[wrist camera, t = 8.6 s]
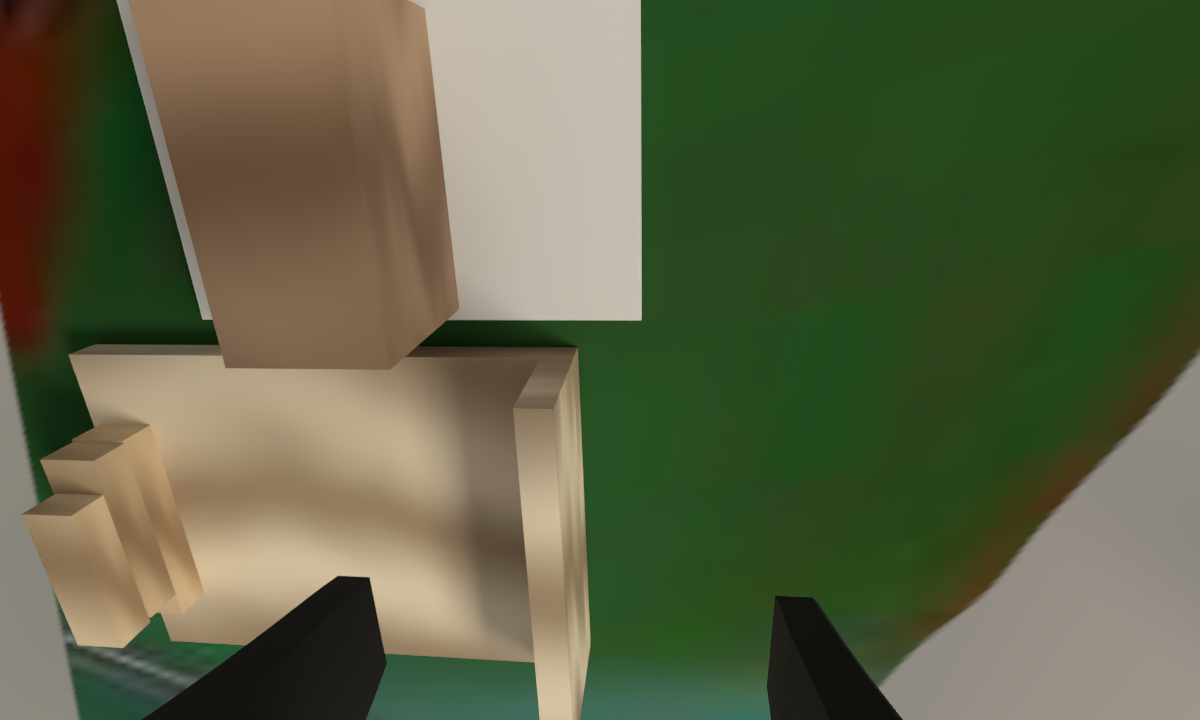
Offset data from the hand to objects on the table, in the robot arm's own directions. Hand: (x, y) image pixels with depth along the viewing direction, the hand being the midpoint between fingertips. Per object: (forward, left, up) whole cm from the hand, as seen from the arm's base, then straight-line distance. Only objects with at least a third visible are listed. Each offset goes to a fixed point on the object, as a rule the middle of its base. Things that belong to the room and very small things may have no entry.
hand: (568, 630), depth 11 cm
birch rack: (-4, +10, -9) cm, 14 cm away
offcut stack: (-4, +16, -8) cm, 19 cm away
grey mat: (+8, +6, -9) cm, 14 cm away
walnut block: (+7, +7, -9) cm, 13 cm away
